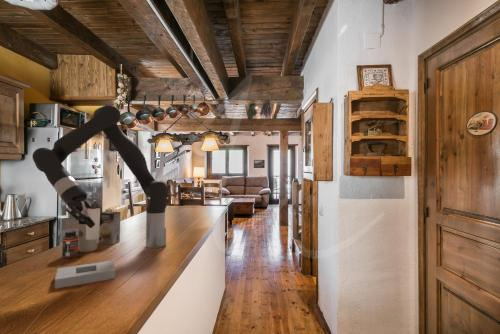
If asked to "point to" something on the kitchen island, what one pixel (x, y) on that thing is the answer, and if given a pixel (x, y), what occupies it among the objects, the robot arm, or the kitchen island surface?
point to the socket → (84, 274)
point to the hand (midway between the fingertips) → (97, 225)
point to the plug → (95, 216)
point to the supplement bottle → (70, 245)
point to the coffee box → (109, 228)
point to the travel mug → (82, 242)
